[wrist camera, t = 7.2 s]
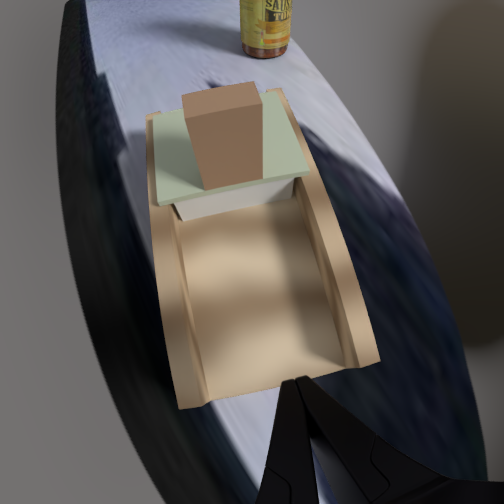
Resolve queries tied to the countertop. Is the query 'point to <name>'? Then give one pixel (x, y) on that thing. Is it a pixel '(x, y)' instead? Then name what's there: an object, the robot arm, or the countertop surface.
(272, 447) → the robot arm
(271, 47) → the sauce bottle
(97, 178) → the countertop surface
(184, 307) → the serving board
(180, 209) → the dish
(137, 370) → the countertop surface
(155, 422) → the countertop surface
